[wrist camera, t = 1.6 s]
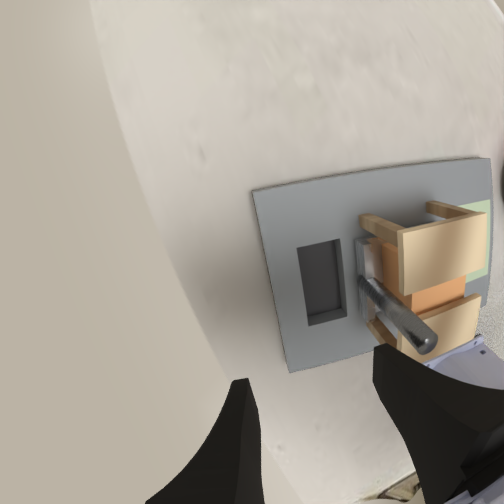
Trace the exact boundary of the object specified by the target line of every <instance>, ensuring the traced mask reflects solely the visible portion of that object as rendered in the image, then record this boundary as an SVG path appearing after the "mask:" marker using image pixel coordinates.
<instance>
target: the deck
mask: <svg viewBox="0 0 504 504" xmlns="http://www.w3.org/2000/svg"><path fill="white" fill-rule="evenodd" d="M252 194H253V199H254V204H255V208H256V213H257V218H258V223H259V228H260V232H261V237H262V242H263V247H264V252H265V257H266V261H267V266H268V271H269V276H270V281H271V286H272V291H273V296H274V301H275V306H276V311H277V316H278V321H279V326H280V331H281V336H282V341H283V347H284V352H285V357H286V362H287V366H288V370H289V373H292V372H297V371H301V370H305V369H309V368H313V367H317V366H321V365H325V364H329V363H333V362H336V361H340V360H343V359H347V358H350V357H354V356H357V355H360V354H364V353H367V352H370V351H373V350H374V347H375V346H378V345H380V344H379V342H378V341H377V339H376V338H375V337H374V335H373V334H372V333H371V331H370V330H369V329H368V327H367V326H366V320H365V319H364V318H363V316H362V315H361V314H360V302H359V286H358V285H357V278H358V272H357V260H356V250H355V239H359V238H364V237H368V236H373V235H374V234H372V233H371V232H369V231H367V230H365V229H363V228H361V227H360V225H359V216H358V215H361V214H366V213H371V214H373V215H376V216H378V217H381V218H383V219H385V220H388V221H390V222H393V223H395V224H397V225H400V226H402V227H404V228H408V227H412V226H417V225H421V224H425V223H430V222H434V221H441V220H446V219H445V218H442V217H439V216H436V215H433V214H430V213H427V211H426V202H427V201H433V200H435V201H439V202H443V203H447V204H450V205H454V206H458V207H462V208H465V209H469V210H472V211H476V212H479V211H481V212H485V213H487V241H486V259H485V267H484V268H482V269H479V270H477V271H474V272H472V273H469V274H466V282H465V292H464V297H467V296H469V295H471V294H474V293H478V294H479V295H481V296H482V297H481V303H480V308H481V307H483V306H485V305H486V302H487V296H488V288H489V281H490V271H491V261H492V246H493V186H492V172H491V161H490V158H468V159H456V160H445V161H435V162H426V163H417V164H409V165H401V166H393V167H385V168H378V169H371V170H364V171H357V172H351V173H345V174H338V175H332V176H326V177H321V178H315V179H309V180H304V181H298V182H293V183H288V184H282V185H277V186H272V187H267V188H262V189H258V190H253V191H252ZM375 314H376V315H377V317H378V318H379V319H380V320H381V321H382V322H383V324H384V325H385V326H386V327H387V328H388V330H389V331H390V332H391V333H392V334H393V336H394V337H395V338H396V339H397V336H398V329H397V328H396V327H395V326H394V325H393V323H392V322H391V321H390V320H389V319H388V318H387V317H386V316H385V315H384V313H383V312H382V311H379V312H375Z"/></svg>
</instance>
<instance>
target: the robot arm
mask: <svg viewBox="0 0 504 504" xmlns="http://www.w3.org/2000/svg"><path fill="white" fill-rule="evenodd" d="M483 340H484V336H483V335H479V336H477V337H476V338H474V339H472V340H470V341H468V342H466V343H464V344H462V345H460V346H458V347H456V348H454V349H452V350H450V351H448V352H445V353H443V354H441V355H439V356H437V357H434V358H432V359H430V360H427V361H425V362H423V363H419V362H418V361H416V360H414V359H412V358H411V357H409V356H407V355H406V354H404V353H402V352H401V351H399V350H398V349H396V348H394V347H393V346H391V345H389V344H388V343H384V344H381V345H378V346H375V347H374V356H373V383H374V386H375V388H376V391H377V393H378V395H379V398H380V400H381V401H382V403H383V405H384V407H385V408H386V410H387V412H388V413H389V415H390V417H391V418H392V420H393V422H394V423H395V425H396V427H397V428H398V430H399V432H400V434H401V435H402V437H403V439H404V441H405V444H406V446H407V448H408V451H409V453H410V456H411V458H412V461H413V464H414V466H415V469H416V472H417V475H418V478H419V481H420V485H421V488H422V492H423V495H424V499H425V503H426V504H504V361H503V360H502V359H501V358H499V357H498V356H497V355H496V354H495V353H494V352H493V351H492V350H491V349H489V348H488V347H487V346H486V345H485V344H484V343H483ZM145 504H265V503H264V495H263V488H262V478H261V428H260V421H259V414H258V408H257V405H256V402H255V399H254V396H253V392H252V389H251V386H250V383H249V379H248V378H245V379H239V380H233V382H232V383H231V386H230V389H229V392H228V395H227V398H226V400H225V403H224V405H223V407H222V410H221V412H220V414H219V416H218V418H217V420H216V422H215V424H214V426H213V428H212V430H211V431H210V433H209V435H208V436H207V438H206V440H205V441H204V443H203V444H202V446H201V447H200V449H199V450H198V452H197V453H196V454H195V456H194V457H193V458H192V459H191V460H190V462H189V463H188V464H187V465H186V466H185V468H184V469H183V470H182V471H181V472H180V473H179V474H178V475H177V476H176V477H175V478H174V479H173V480H172V481H171V482H170V483H168V484H167V485H166V486H165V487H164V488H163V489H161V490H160V491H159V492H158V493H156V494H155V495H154V496H152V497H151V498H150V499H148V500H147V501H146V502H145Z"/></svg>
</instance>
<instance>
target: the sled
mask: <svg viewBox="0 0 504 504" xmlns="http://www.w3.org/2000/svg"><path fill="white" fill-rule="evenodd" d="M434 222H437V221H434ZM430 223H433V222H430ZM425 224H429V223H425ZM421 225H424V224H421ZM417 226H420V225H417ZM412 227H416V226H412ZM408 228H411V227H408ZM384 243H388V242H387V241H385V240H383V239H381V238H380V237H378V236H376V235H373V236H368V237H364V238H359V239H355V250H356V260H357V272H358V278H357V285H358V286H359V302H360V314H361V315H362V316H363V318H364V319H365V320H366V321H367V323H369V322H373V321H375V312H379V311H382V312H383V313H384V315H385V316H386V317H387V318H388V319H389V320H390V321H391V322H392V323H393V325H394V326H395V327H396V328H397V329H398V330H399V331H400V332H401V334H402V335H403V336H404V337H405V338H406V339H407V340H408V342H409V343H410V344H411V345H412V346H413V347H414V348H415V350H416V351H417V352H418V353H419V354H420V355H426V354H428V353H430V352H431V351H432V350H433V349H434V348H435V346H436V345H437V342H438V335H437V334H436V333H435V332H434V331H433V330H432V329H431V328H430V327H429V326H428V325H427V324H425V323H424V322H423V321H422V320H421V319H420V318H419V317H418V316H417V315H416V314H415V313H414V312H413V311H412V310H411V309H410V308H408V307H407V306H406V305H405V304H404V303H403V302H402V301H401V300H400V299H399V298H398V297H396V296H395V295H394V294H393V293H392V292H391V291H390V290H389V289H388V288H386V287H385V286H384V285H383V262H382V246H381V244H384Z"/></svg>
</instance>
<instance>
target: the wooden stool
mask: <svg viewBox="0 0 504 504" xmlns="http://www.w3.org/2000/svg"><path fill="white" fill-rule="evenodd" d="M426 211H427V213H430V214H433V215H436V216H439V217H442V218H445V219H446V220H441V221H437V222H433V223H429V224H424V225H420V226H416V227H411V228H404V227H402V226H400V225H397V224H395V223H393V222H390V221H388V220H385V219H383V218H381V217H378V216H376V215H373V214H371V213H366V214H361V215H358V216H359V225H360V227H361V228H363V229H365V230H367V231H369V232H371V233H372V234H374V235H376V236H378V237H380V238H381V239H383V240H385V241H387V242H389V243H390V244H392V245H394V246H396V247H397V248H398V263H399V292H400V293H401V294H402V295H403V296H406V295H409V294H413V293H416V292H419V291H422V290H425V289H428V288H430V287H433V286H436V285H439V284H442V283H445V282H447V281H450V280H453V279H456V278H458V277H461V276H464V275H466V274H469V273H472V272H474V271H477V270H479V269H482V268H484V267H485V259H486V241H487V213H485V212H481V211H479V212H476V211H472V210H469V209H465V208H462V207H458V206H454V205H450V204H447V203H443V202H439V201H435V200H433V201H427V202H426ZM481 297H482V296H481V295H479V294H478V293H474V294H471V295H469V296H467V297H464V298H462V299H460V300H457V301H455V302H452V303H450V304H447V305H445V306H442V307H440V308H437V309H435V310H432V311H429V312H427V313H424V314H421V315H418V317H419V318H420V319H421V320H422V321H423V322H424V323H425V324H427V325H428V326H429V327H430V328H431V329H432V330H433V331H434V332H435V333H436V334H437V335H438V342H437V345H436V346H435V348H434V349H433V350H432V351H431V352H430V353H428V354H426V355H420V354H419V353H418V352H417V351H416V350H415V348H414V347H413V346H412V345H411V344H410V343H409V342H408V340H407V339H406V338H405V337H404V336H403V335H402V334H401V332H400V331H399V330H398V336H397V339H396V338H395V337H394V336H393V334H392V333H391V332H390V331H389V330H388V328H387V327H386V326H385V325H384V324H383V322H382V321H381V320H380V319H379V318H378V317H377V315H376V314H375V321H373V322H369V323H367V321H366V326H367V327H368V329H369V330H370V331H371V333H372V334H373V335H374V337H375V338H376V339H377V341H378V342H379V344H380V345H381V344H384V343H388V344H389V345H391V346H393V347H394V348H396V349H398V350H399V351H401V352H402V353H404V354H406V355H407V356H409V357H411V358H412V359H414V360H416V361H418V362H419V363H423V362H425V361H427V360H430V359H432V358H434V357H437V356H439V355H441V354H443V353H445V352H448V351H450V350H452V349H454V348H456V347H458V346H460V345H462V344H464V343H466V342H468V341H470V340H472V339H474V336H475V331H476V326H477V321H478V316H479V310H480V303H481Z"/></svg>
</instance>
